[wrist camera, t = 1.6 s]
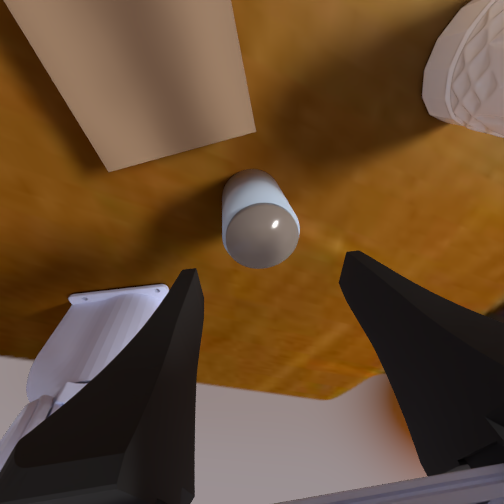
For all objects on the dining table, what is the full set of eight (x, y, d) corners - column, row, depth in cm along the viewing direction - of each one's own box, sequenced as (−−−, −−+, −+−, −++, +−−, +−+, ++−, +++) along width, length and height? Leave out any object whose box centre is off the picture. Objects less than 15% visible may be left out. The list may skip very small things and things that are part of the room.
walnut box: (125, 159, 16) (108, 172, 13) (17, -40, 10) (-46, -80, 8) (250, 124, 15) (256, 131, 13) (204, -102, 10) (199, -162, 8)
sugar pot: (225, 226, 20) (227, 274, 15) (218, 171, 17) (216, 207, 12) (279, 221, 20) (299, 266, 15) (280, 166, 17) (305, 198, 12)
